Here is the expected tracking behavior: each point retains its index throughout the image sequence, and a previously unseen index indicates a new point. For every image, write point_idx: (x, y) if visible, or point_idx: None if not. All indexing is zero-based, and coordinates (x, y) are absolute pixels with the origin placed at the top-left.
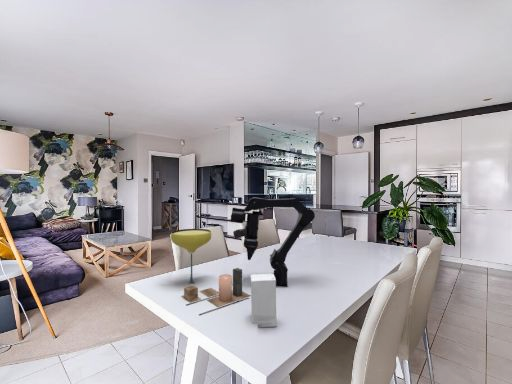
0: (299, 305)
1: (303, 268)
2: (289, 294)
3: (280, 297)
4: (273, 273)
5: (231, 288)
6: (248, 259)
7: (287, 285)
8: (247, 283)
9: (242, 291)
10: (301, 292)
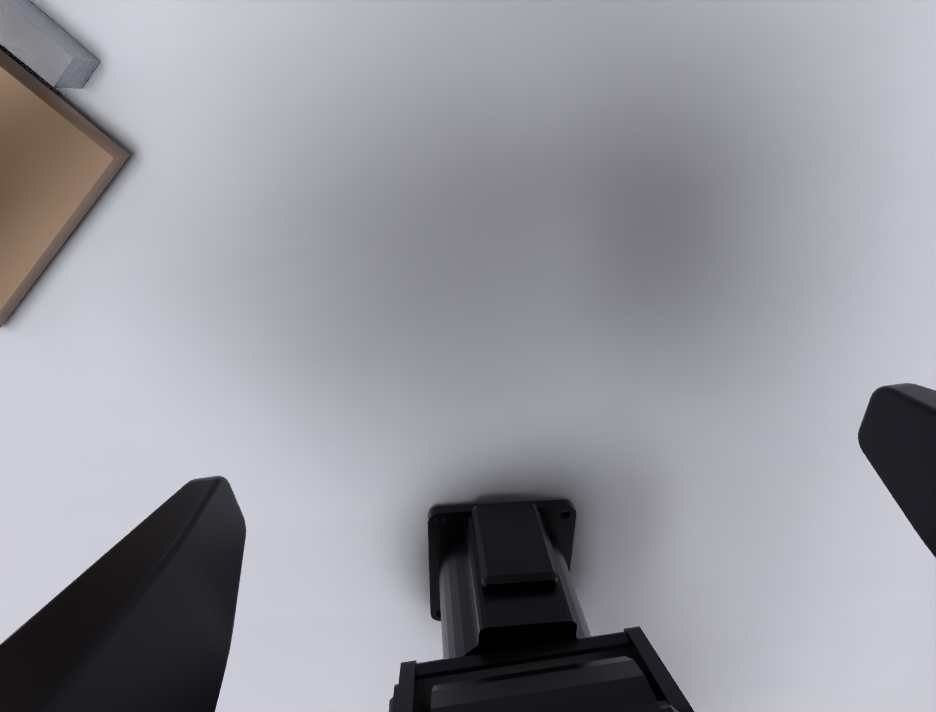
0: None
1: (910, 690)
2: (258, 629)
3: None
4: (538, 585)
5: None
6: (191, 503)
7: (438, 619)
8: (509, 216)
9: (69, 210)
10: (325, 696)
